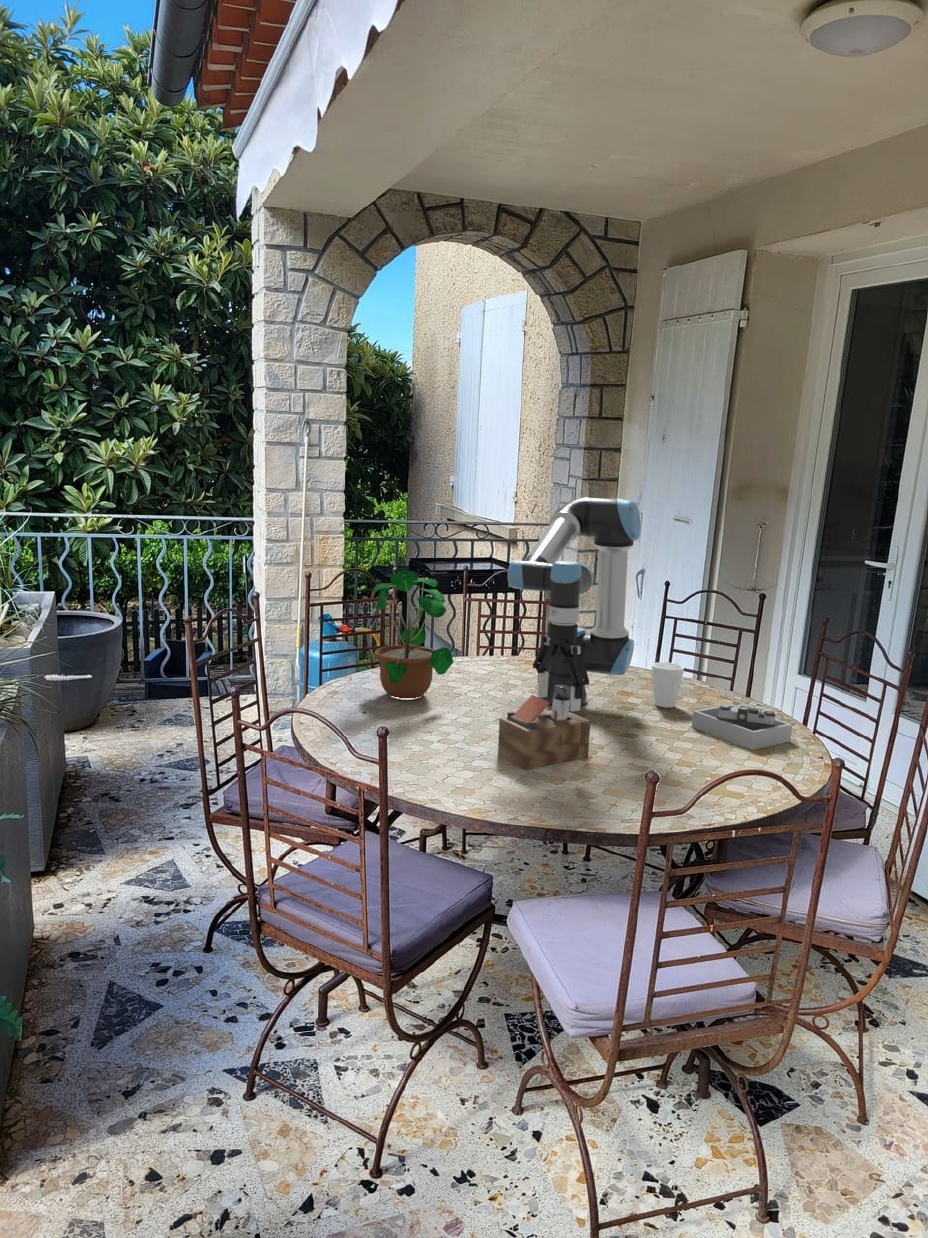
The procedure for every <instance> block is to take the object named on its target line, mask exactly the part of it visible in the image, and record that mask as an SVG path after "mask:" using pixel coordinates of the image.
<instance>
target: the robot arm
mask: <svg viewBox="0 0 928 1238" xmlns="http://www.w3.org/2000/svg"><path fill="white" fill-rule="evenodd" d="M641 526H642V525H641V514H640V510H639V507H638V504H637V503H636V502H635V501H634V500H629V499H622V498H607V497H606V498H602V497H587V496H586V497H580V498H576V499H573V500H572V501H569V502H568V503H566V504H564V505H563V506H561V507H559V508H558V509H557V510H556V511H555V512H554V513H553V514H552V516H551V517H550V519H549V522H548V527H547V528H546V530H545V531H544V533H543V534H542V535H541V537H540V538H539V540H538V541H537V542H536V544H535V545H534V547H533V548H532V549H531V551H530V552H529V553H528V554H527V556H526V558H524V560H521V559H520V560H513V561H511V562H510V563H509V566H508V569H507V582H508V585H509V586H510V587H511V588H513V589H518V590H522V591H525V590H526V591H536V592H537V591H538V592H548V593H549V607H548V608H549V610H548V621H549V622H548V623H547V635H546V636H542V637H541V643H540V646H539V649H538V651H537V654H536V656H535V659H534V661H533V664H532V668H533V669H536V672H537V695H536V697H538V698H541V699H543V700H546V701H548V702H549V703H550V704H549V705H551V706H552V703H553V696H554V688H555V685H566V686H569V687H571V698H570V706H569V712H577V711H581V706H582V705H584V704H586V703H587V700H588V698H587V697H588V694H587V691H586V687H585V686H588V685H590V680H589V676H588V675H589V674H588V672H589V673H596V674H597V673H598V674H603V675H609V676H623V675H625V674H626V673H627V672H628V670H629V667H630V665H631V662H632V659H633V655H634V648H635V641H634V639H632V638H630V637H629V636H630V631H629V630H628V629H627V628H626V627H625V616H626V613H625V612H626V595H627V575H628V559H629V556H628V555H629V550H630V549H631V548H633V546H634V543H635V541H637V540H639V538H640V534H641ZM579 537H588V538H593V539H594V540H593V545H594V546H595V547H596V548H597V549H598V565H597V585H596V587H597V588H596V591H597V592H596V614H595V615H596V616H595V626H594V627H593V628H591V629H590V634H589V633H587V631H586V629H585V628H583V627H579V625H578V624H577V623H578V622H579V618H580V617H579V616H580V597H581V595H582V594H584V593H587V592H588V590H590V589H591V588H592V587H593V584H594V581H595V576H594V572H593V571H592V569H591V568H590V567H589V566H588V565H586V564H581V563H579V562H577V561H573V560H571V561H570V560H559V559H560V557H561V556H562V554H563V553H564V552H565V550H566V548H567V547H568V546H569V544H570V543H571V542H572V541H574V540H576V539H577V538H579Z"/></svg>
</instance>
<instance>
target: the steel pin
mask: <svg viewBox="0 0 928 1238" xmlns="http://www.w3.org/2000/svg"><path fill="white" fill-rule="evenodd" d="M570 698H571V687H569V686H566V685H555V688H554V696H553V703H552V705H551V710H552V711H551V719H550V720H552V721H554V722H559V721H565V720H568V713H569V712H570Z"/></svg>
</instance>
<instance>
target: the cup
mask: <svg viewBox="0 0 928 1238" xmlns="http://www.w3.org/2000/svg"><path fill="white" fill-rule="evenodd" d="M651 668H652V669H651V670H652V671H651V672H652V679H653V693H654V694H653V695H654V705H655V706H657V707H661V708H674V707H675V706H676V703H677V699H678V695H679V691H680V686H681V682H682V678H683V675H684V673H685V672H684V671H685V666H684V665H682V664H679V663H674V662H668V661H667V662H665V661H663V662H662V661H659V662H654V663H652V664H651Z"/></svg>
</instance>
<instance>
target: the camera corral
mask: <svg viewBox="0 0 928 1238" xmlns="http://www.w3.org/2000/svg"><path fill="white" fill-rule="evenodd" d="M726 705H727V706H729V707H730V708H732V707H735V706H736V705H734V704H726ZM720 706H721V705H720ZM720 706H714V707H708V708H703V709H702V708H701V709H697V710H693V711H692V719H691V728H692V729H695V730H697V731H700V732H702V733H706V734H708V735H711V736H714V737H715V738H718V739H721V740H724V741H727V742H729V743H732V744H734V745H738V746H741V747H743V748H746V749H748V750H751V751H754V750H759V749H764V748H768V747H773V746H776V745H782V743H783V744H786V742H787V743H791V741H792V731H793V724H791V723H788V722H785V721H782V720H779V719H777V718H775V727H770V728H765V729H760V730H755V731H752V730H749V729H747V728H744V727H741V726H738V725H735V724H732V723H730V722H727V721H722V720H718V719H717V715H718V711H719V707H720Z"/></svg>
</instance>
